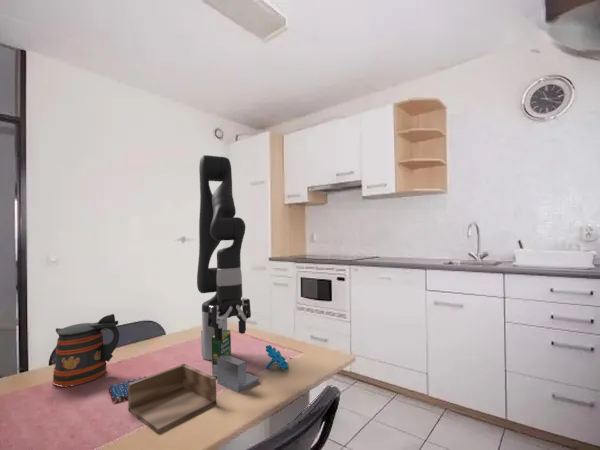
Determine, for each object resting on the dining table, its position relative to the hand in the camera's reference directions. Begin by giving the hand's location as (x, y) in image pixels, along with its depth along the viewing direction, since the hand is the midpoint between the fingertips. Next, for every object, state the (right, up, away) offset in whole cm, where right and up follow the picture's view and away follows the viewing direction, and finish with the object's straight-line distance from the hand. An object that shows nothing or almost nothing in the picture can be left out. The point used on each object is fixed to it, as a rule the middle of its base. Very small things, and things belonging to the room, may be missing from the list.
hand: (230, 336), depth 96 cm
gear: (+13, -15, +12) cm, 23 cm away
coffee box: (-5, -15, +9) cm, 18 cm away
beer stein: (-50, -17, +10) cm, 53 cm away
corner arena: (-13, -15, -12) cm, 23 cm away
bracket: (+2, -15, +2) cm, 15 cm away
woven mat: (-29, -16, -2) cm, 34 cm away
